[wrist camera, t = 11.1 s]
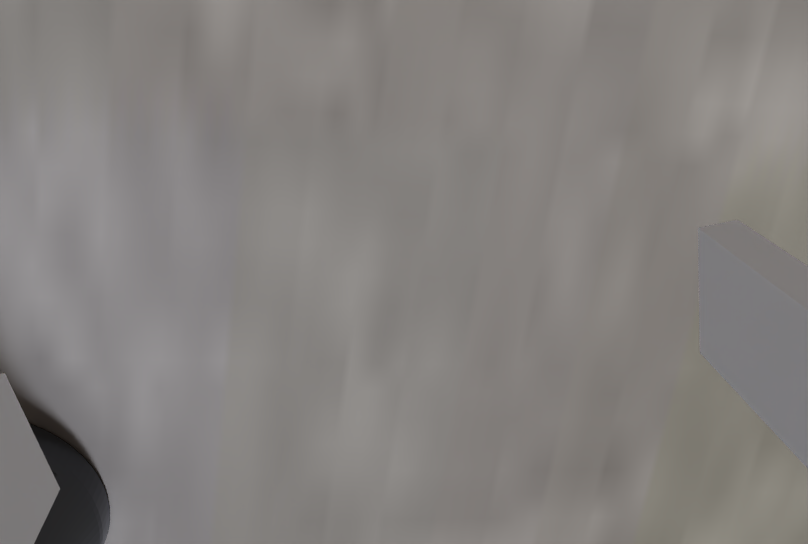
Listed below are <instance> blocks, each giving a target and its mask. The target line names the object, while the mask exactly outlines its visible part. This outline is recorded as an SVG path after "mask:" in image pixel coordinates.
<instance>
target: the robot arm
mask: <svg viewBox="0 0 808 544" xmlns="http://www.w3.org/2000/svg"><path fill="white" fill-rule="evenodd" d="M698 261H699V329H700V353H701V354H702V355H703V356H704V358H705V359H706V360H707V361H708V362H709V363H710V364H711V365H712V366H713V367H714V368H715V369H716V370H717V372H718V373H719V374H720V375H721V376H722V377H723V378H724V379H725V380H726V381H727V382H728V383H729V384H730V385H731V387H732V388H733V389H734V390H735V391H736V392H737V393H738V394H739V395H740V396H741V397H742V398H743V399H744V401H745V402H746V403H747V404H748V405H749V406H750V407H751V408H752V409H753V410H754V411H755V412H756V413H757V414H758V416H759V417H760V418H761V419H762V420H763V421H764V422H765V423H766V424H767V425H768V426H769V427H770V428H771V429H772V431H773V432H774V433H775V434H776V435H777V436H778V437H779V438H780V439H781V440H782V441H783V442H784V443H785V445H786V446H787V447H788V448H789V449H790V450H791V451H792V452H793V453H794V454H795V455H796V456H797V457H798V458H799V460H800V461H801V462H802V463H803V464H804V465H805V466H806V467H807V468H808V266H807V265H806V264H804V263H803V262H801V261H800V260H798V259H797V258H795V257H794V256H792V255H791V254H789V253H788V252H786V251H785V250H783V249H782V248H780V247H778V246H777V245H775V244H774V243H772V242H771V241H769V240H768V239H766V238H765V237H763V236H762V235H760V234H759V233H757V232H756V231H754V230H753V229H751V228H750V227H748V226H747V225H745V224H744V223H742V222H741V221H739V220H733V221H728V222H724V223H719V224H714V225H709V226H705V227H700V228H698ZM109 524H110V508H109V502H108V498H107V494H106V491H105V489H104V486H103V484H102V482H101V480H100V479H99V477H98V475H97V474H96V472H95V471H94V469H93V468H92V467H91V465H90V464H89V463H88V462H87V461H86V460H85V459H84V458H83V457H82V456H81V455H80V454H79V453H78V452H77V451H76V450H75V449H74V448H72V447H71V446H70V445H68V444H67V443H66V442H64V441H63V440H61V439H60V438H58V437H56V436H54V435H53V434H51V433H49V432H47V431H45V430H43V429H41V428H38V427H36V426H34V425H31V424H29V423H28V420H27V418H26V416H25V414H24V412H23V410H22V408H21V406H20V404H19V402H18V400H17V397H16V395H15V393H14V391H13V389H12V387H11V385H10V383H9V381H8V379H7V377H6V374H5V373H2V374H0V544H104V543H105V540H106V537H107V534H108V530H109Z"/></svg>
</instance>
